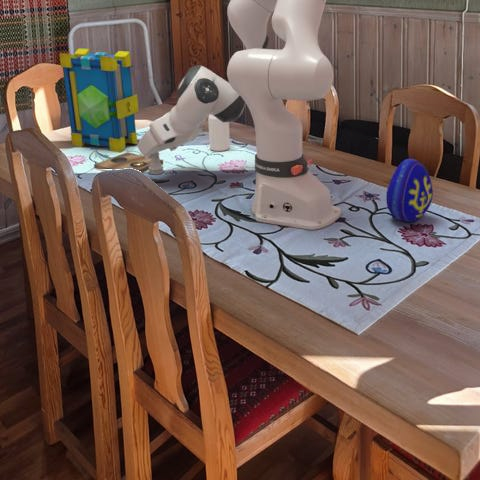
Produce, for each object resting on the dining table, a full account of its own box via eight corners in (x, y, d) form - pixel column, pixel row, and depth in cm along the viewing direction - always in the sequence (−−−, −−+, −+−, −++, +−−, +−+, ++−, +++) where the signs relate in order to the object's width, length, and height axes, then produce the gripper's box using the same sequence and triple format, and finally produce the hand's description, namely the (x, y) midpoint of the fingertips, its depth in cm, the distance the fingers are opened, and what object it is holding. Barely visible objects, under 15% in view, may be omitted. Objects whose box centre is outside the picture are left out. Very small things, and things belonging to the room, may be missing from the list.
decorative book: (119, 154, 217) (109, 58, 204) (63, 146, 227) (50, 53, 214) (145, 142, 228) (137, 50, 216) (90, 135, 238) (80, 46, 226)
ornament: (405, 231, 158) (410, 169, 152) (376, 219, 165) (379, 159, 158) (436, 219, 164) (442, 159, 157) (407, 208, 170) (411, 149, 164)
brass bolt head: (145, 163, 204) (145, 162, 204) (138, 166, 202) (138, 165, 201) (138, 162, 205) (138, 161, 205) (131, 164, 203) (131, 163, 203)
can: (233, 147, 220) (232, 110, 215) (222, 152, 216) (221, 115, 211) (217, 144, 224) (215, 108, 219) (205, 150, 219) (203, 113, 214)
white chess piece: (161, 175, 198) (159, 148, 195) (146, 174, 199) (144, 148, 195) (165, 170, 202) (163, 144, 198) (151, 169, 203) (149, 143, 199)
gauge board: (163, 163, 207) (162, 159, 207) (130, 177, 197) (130, 172, 197) (127, 155, 215) (127, 152, 215) (94, 168, 205) (93, 164, 205)
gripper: (201, 107, 194) (179, 135, 205) (146, 123, 181) (126, 152, 191) (213, 125, 193) (191, 152, 204) (158, 143, 180) (138, 170, 190)
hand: (159, 152), depth 197 cm, fingers open, 8 cm apart
